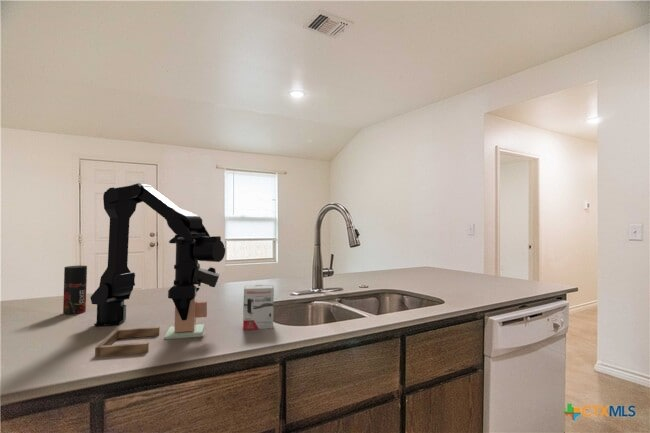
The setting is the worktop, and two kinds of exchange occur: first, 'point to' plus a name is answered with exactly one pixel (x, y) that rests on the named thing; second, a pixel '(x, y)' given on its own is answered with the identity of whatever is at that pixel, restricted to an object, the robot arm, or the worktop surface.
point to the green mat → (196, 333)
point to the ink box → (258, 306)
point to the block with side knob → (190, 316)
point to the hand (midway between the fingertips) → (185, 317)
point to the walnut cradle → (108, 349)
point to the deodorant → (74, 290)
